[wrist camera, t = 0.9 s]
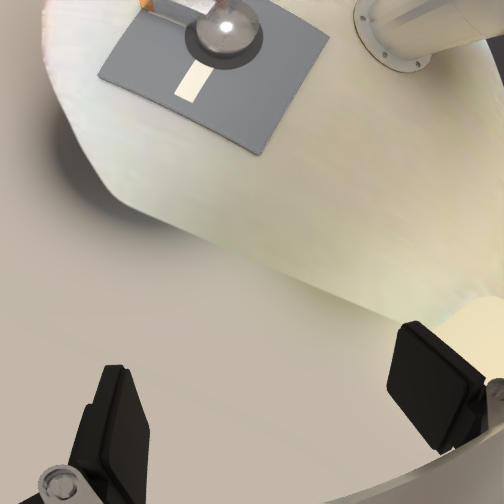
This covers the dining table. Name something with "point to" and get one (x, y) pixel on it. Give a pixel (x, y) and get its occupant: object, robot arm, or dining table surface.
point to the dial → (212, 23)
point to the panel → (218, 72)
